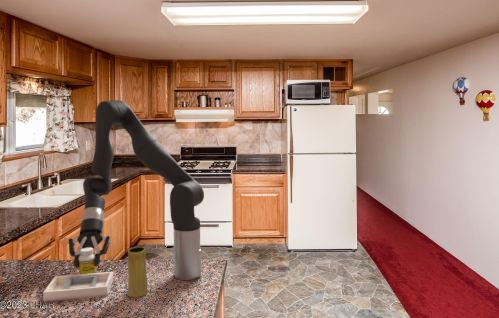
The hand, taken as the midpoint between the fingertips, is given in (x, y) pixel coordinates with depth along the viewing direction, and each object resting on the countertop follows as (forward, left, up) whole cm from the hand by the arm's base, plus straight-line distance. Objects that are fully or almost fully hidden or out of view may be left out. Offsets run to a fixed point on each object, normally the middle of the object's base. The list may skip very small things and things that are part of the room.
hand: (86, 266), depth 117 cm
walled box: (0, +8, -5) cm, 9 cm away
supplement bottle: (0, -2, -4) cm, 5 cm away
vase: (-18, +13, -5) cm, 23 cm away
